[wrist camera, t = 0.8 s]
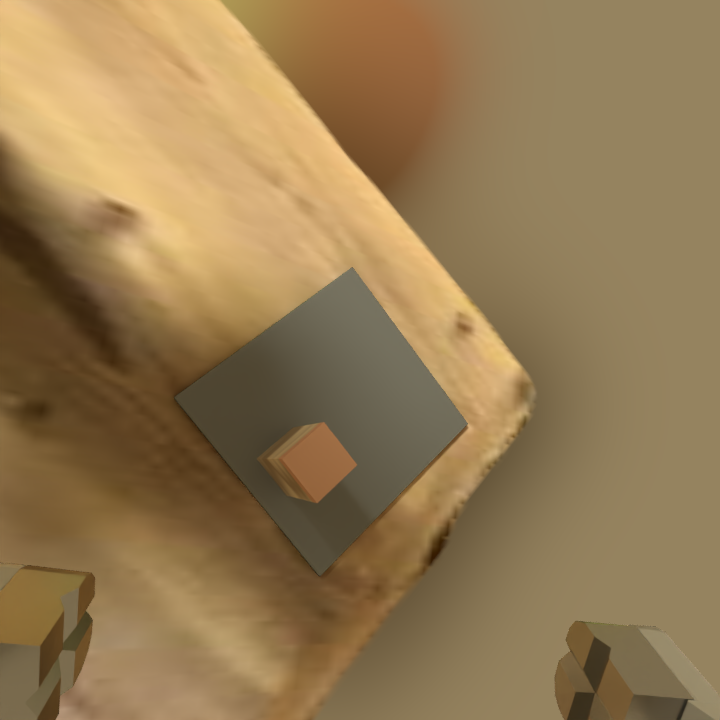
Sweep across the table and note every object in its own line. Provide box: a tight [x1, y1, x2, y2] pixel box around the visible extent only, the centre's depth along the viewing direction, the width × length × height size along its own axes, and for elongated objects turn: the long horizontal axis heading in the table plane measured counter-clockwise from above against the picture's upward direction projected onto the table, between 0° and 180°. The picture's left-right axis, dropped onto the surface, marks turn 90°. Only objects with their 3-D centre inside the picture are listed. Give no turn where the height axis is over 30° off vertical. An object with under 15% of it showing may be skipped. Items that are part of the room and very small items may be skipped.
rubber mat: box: [174, 267, 468, 576], centre depth 47 cm, size 19×20×1 cm
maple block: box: [257, 422, 357, 503], centre depth 41 cm, size 4×4×8 cm
